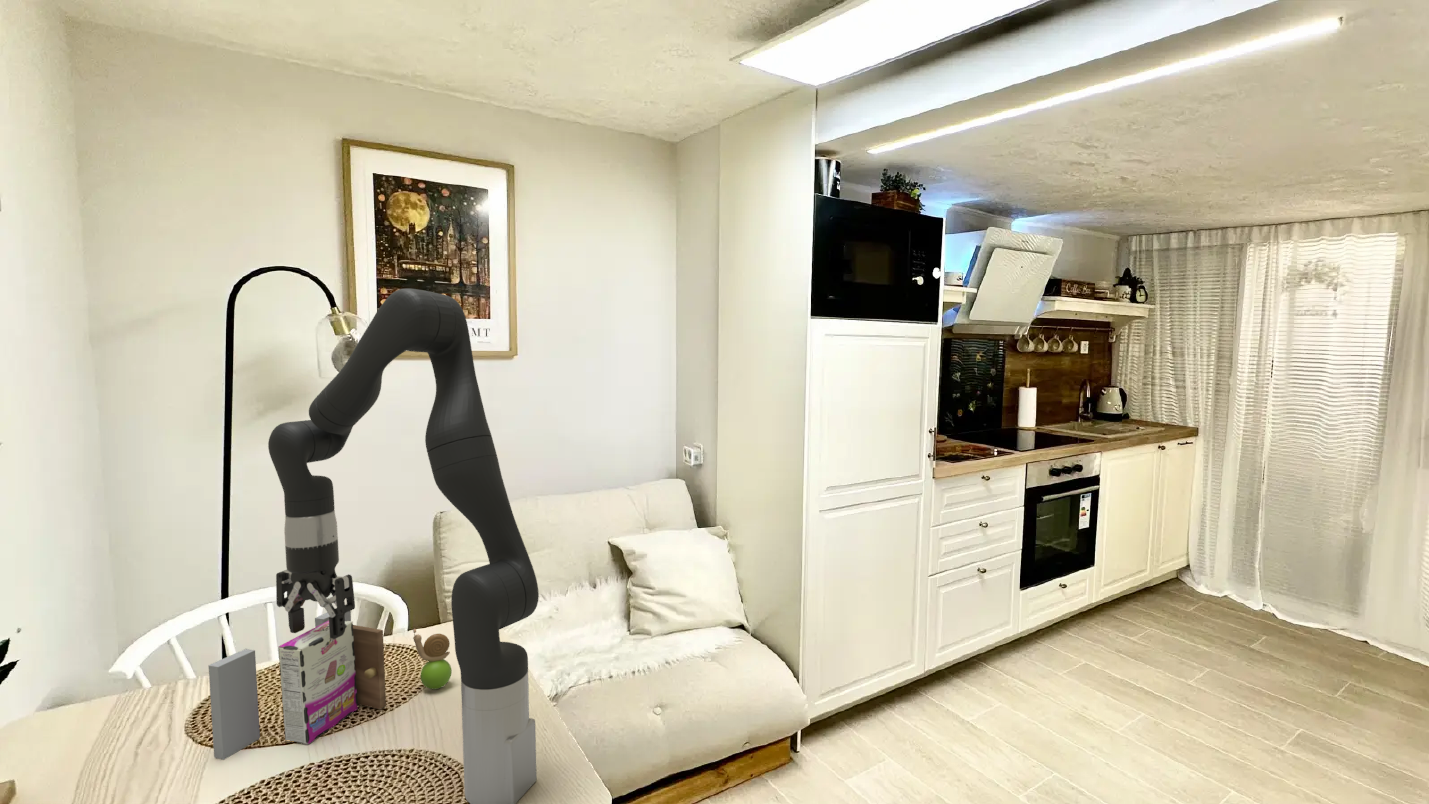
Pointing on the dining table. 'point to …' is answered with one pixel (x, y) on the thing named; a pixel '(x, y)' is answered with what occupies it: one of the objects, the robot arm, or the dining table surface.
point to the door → (369, 666)
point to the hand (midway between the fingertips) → (317, 634)
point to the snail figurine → (434, 660)
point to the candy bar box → (317, 682)
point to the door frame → (237, 699)
